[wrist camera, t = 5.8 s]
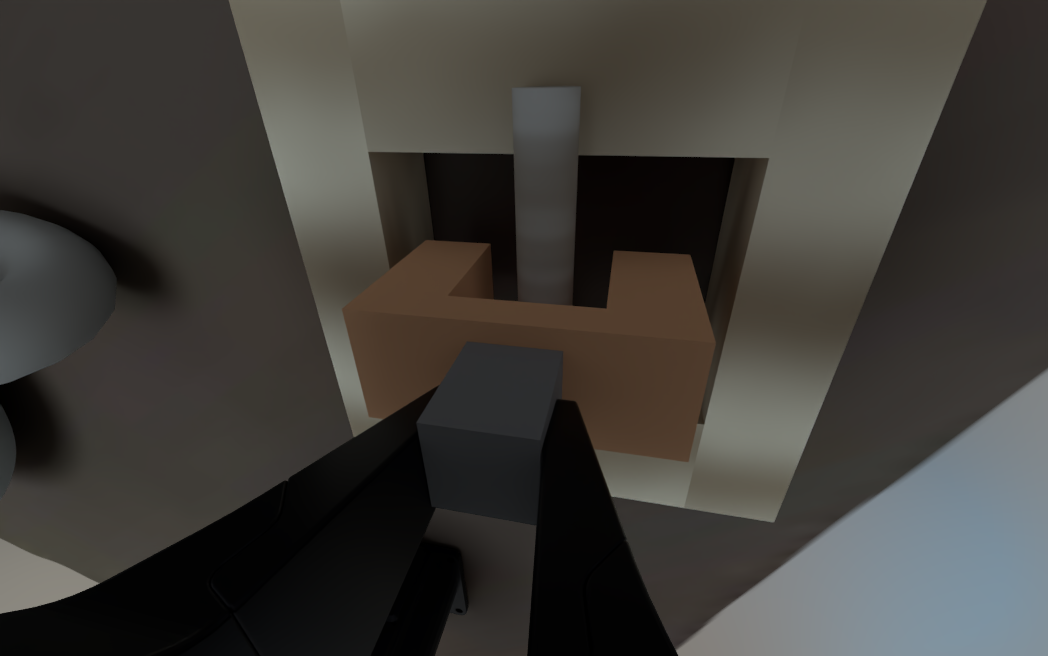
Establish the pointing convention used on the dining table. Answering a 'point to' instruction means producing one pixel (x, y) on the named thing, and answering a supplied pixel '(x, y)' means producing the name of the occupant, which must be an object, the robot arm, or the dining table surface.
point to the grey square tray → (623, 130)
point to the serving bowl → (6, 452)
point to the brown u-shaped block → (529, 368)
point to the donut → (48, 294)
